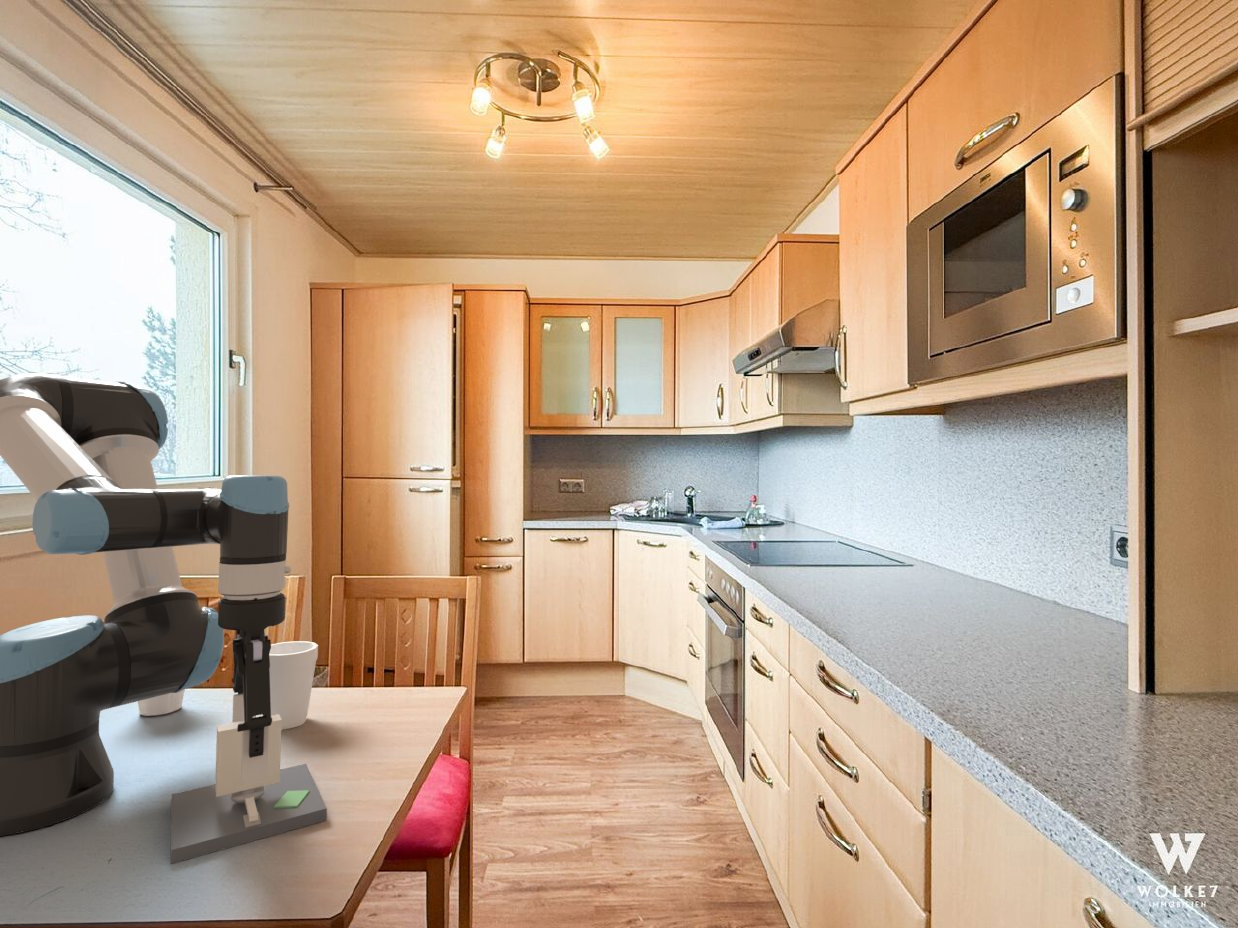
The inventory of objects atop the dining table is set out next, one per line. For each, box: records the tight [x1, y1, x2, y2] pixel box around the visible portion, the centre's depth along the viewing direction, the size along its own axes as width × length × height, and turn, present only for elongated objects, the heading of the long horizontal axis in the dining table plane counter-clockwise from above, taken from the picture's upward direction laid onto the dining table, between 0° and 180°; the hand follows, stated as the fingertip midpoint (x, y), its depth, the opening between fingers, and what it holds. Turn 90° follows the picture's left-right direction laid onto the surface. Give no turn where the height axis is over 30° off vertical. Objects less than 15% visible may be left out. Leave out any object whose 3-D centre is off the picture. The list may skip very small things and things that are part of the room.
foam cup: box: [269, 640, 319, 731], centre depth 111 cm, size 10×9×13 cm
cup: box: [137, 689, 186, 717], centre depth 115 cm, size 10×10×13 cm
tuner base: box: [170, 763, 328, 864], centre depth 81 cm, size 16×15×2 cm
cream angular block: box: [214, 714, 282, 822], centre depth 79 cm, size 7×9×10 cm
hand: (248, 760), depth 81 cm, fingers open, 13 cm apart
